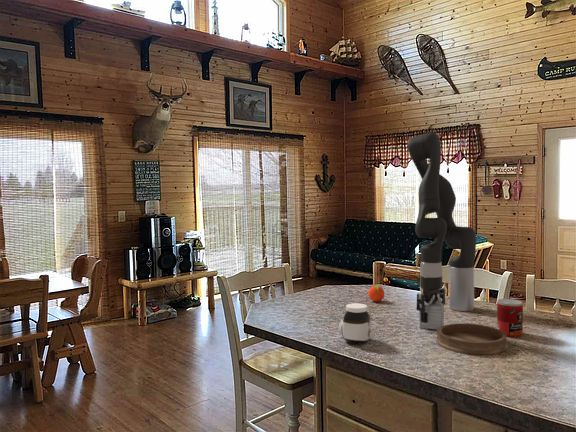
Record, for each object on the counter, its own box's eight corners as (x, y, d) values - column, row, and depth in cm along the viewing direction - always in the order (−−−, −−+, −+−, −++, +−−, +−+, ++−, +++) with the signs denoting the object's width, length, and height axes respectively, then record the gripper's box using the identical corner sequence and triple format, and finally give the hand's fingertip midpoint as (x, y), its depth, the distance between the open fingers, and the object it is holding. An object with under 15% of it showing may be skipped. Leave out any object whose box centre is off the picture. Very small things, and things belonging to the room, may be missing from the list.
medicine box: (444, 327, 169) (444, 303, 168) (442, 330, 165) (442, 306, 164) (421, 325, 172) (421, 301, 172) (419, 328, 168) (419, 304, 168)
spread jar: (361, 347, 150) (361, 310, 149) (329, 341, 156) (329, 306, 155) (376, 336, 160) (375, 302, 159) (345, 332, 166) (344, 298, 165)
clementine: (386, 303, 204) (386, 287, 204) (370, 304, 204) (369, 287, 204) (383, 299, 212) (382, 283, 212) (367, 299, 212) (367, 283, 212)
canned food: (512, 339, 155) (512, 305, 154) (491, 332, 162) (491, 300, 161) (528, 335, 158) (528, 302, 157) (507, 329, 165) (507, 297, 164)
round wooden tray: (458, 329, 166) (457, 319, 166) (519, 343, 150) (519, 332, 150) (423, 343, 152) (423, 332, 152) (487, 360, 136) (487, 348, 136)
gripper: (433, 270, 175) (433, 314, 176) (409, 275, 166) (410, 322, 167) (451, 273, 169) (451, 318, 170) (428, 278, 160) (429, 326, 161)
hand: (431, 320), depth 168 cm, fingers open, 8 cm apart
